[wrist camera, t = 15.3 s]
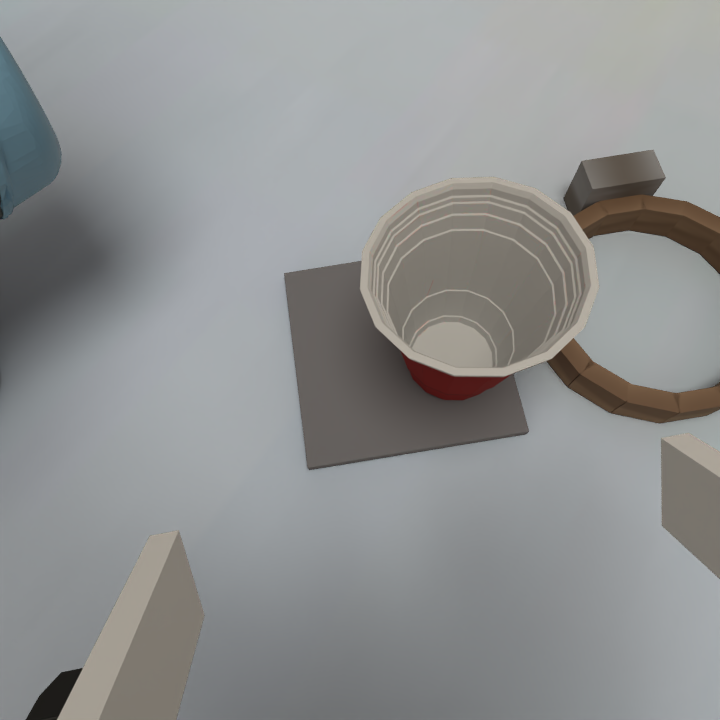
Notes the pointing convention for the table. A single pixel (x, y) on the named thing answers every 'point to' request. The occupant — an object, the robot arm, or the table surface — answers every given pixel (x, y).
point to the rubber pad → (374, 382)
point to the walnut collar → (648, 215)
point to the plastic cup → (477, 282)
